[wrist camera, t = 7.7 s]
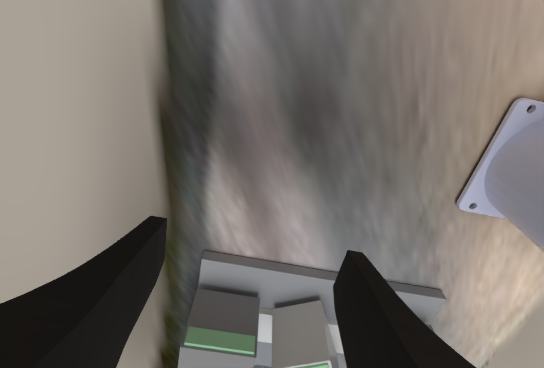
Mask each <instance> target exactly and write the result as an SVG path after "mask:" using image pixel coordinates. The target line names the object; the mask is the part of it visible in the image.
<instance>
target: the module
mask: <svg viewBox="0 0 544 368" xmlns="http://www.w3.org/2000/svg"><path fill="white" fill-rule="evenodd" d="M272 368H339V364H338V358H337V353H336V350H335V346H334V343H333V340H332V336H331V333H330V329H329V326H328V323H327V319H326V316H325V313H324V309H323V306H322V303H321V300H319V301H314V302H308V303H303V304H298V305H292V306H287V307H282V308H276V309H272Z"/></svg>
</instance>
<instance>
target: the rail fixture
mask: <svg viewBox="0 0 544 368" xmlns="http://www.w3.org/2000/svg"><path fill="white" fill-rule="evenodd" d="M337 275H338V273H336V272H330V271H324V270H318V269H312V268H306V267H300V266H294V265H289V264H283V263H277V262H271V261H265V260H259V259H253V258H247V257H241V256H235V255H229V254H223V253H217V252H211V251H205V250H204V254H203V257H202V262H201V269H200V276H199V284H198V288H197V290H196V294H195V297H194V301H193V304H192V308H191V311H190V315H189V318H188V322H187V325H186V329H185V332H184V336H183V339H182V343H181V346H180V354H179V363H178V368H254V365H255V364H256V365H263V366H270V367H272V309H276V308H282V307H287V306H292V305H298V304H303V303H308V302H314V301H319V300H321V303H322V306H323V309H324V313H325V316H326V319H327V323H328V326H329V329H330V333H331V336H332V340H333V343H334V346H335V350H336V353H337V358H338V364H339V368H347V366H346V361H345V357H344V352H343V347H342V343H341V338H340V334H339V329H338V324H337V319H336V314H335V308H334V296H333V285H334V283H335V280H336V278H337ZM386 282H387V283H388V284H389V285H390V286H391V288H392V289H393V290H394V291H395V292H396V294H397V295H398V296H399V297H400V298H401V299H402V300H403V301H404V303H405V304H406V305H407V306H408V307H409V308H410V309H411V310H412V311H413V312H414V313H415V314H416V315H417V316H418V317H419V318H420V319H421V320H422V321H423V322H424V323H425V324H426V325H427V326H428V327H429V328H430V329H431V330H432V331H433V329H432V327H431V325H430V324H431V322H432V321H433V319H434V318H435V316H436V315H437V313H438V312H439V310H440V309H441V307H442V306H443V304H444V303H445V301H446V300H447V299H446V298H445V296H444V294H443V293H442V291H441V290H438V289H432V288H426V287H420V286H414V285H408V284H402V283H396V282H390V281H386ZM433 332H434V331H433Z"/></svg>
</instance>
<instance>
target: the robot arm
mask: <svg viewBox="0 0 544 368" xmlns="http://www.w3.org/2000/svg"><path fill="white" fill-rule="evenodd" d="M530 105H532V106H531V109H530V110H529V111H527V108H528V107H529V106H530ZM472 203H474V204H473V205H472V206H470V204H472ZM456 204H457V206H458V208H459V209H460V210H463V211H468V212H473V213H478V214H483V215H489V216H494V217H499V218H504V219H508V220H509V221H510V222H511V223H512V224H513V225H515V226H516V227H517V228H518V229H519V230H520V231H521V232H522V233H523V234H524V235H526V236H527V237H528V238H529V239H530V240H531V241H532V242H533V243H534V244H535V245H537V246H538V247H539V248H540V249H541V250H542V251H543V252H544V102H542V101H537V100H533V99H528V98H519V99H517V100H516V101H514V103H513V104H512V106H511V107H510V109H509V111H508V113H507V114H506V116H505V118H504V120H503V121H502V123H501V125H500V127H499V128H498V130H497V132H496V134H495V135H494V137H493V139H492V141H491V143H490V144H489V146H488V148H487V150H486V151H485V153H484V155H483V157H482V158H481V160H480V162H479V164H478V165H477V167H476V169H475V171H474V172H473V174H472V176H471V178H470V180H469V181H468V183H467V185H466V187H465V188H464V190H463V192H462V194H461V195H460V197H459V199H458V201H457V203H456ZM166 229H167V218H161V217H156V216H150V217H148V218H147V219H146V220H144V221H143V222H142V223H141V224H139V225H138V226H137V227H136V228H134V229H133V230H132V231H130V232H129V233H128V234H126V235H125V236H124V237H123V238H121V239H120V240H118V241H117V242H116V243H114V244H113V245H112V246H110V247H109V248H108V249H106V250H104V251H103V252H101V253H100V254H98V255H97V256H95V257H94V258H92V259H91V260H89V261H87V262H86V263H84V264H83V265H81V266H79V267H77V268H76V269H74V270H72V271H70V272H68V273H67V274H65V275H63V276H61V277H59V278H57V279H55V280H53V281H51V282H49V283H47V284H45V285H42V286H40V287H38V288H36V289H34V290H32V291H30V292H28V293H25V294H23V295H21V296H18V297H16V298H13V299H11V300H9V301H6V302H4V303H1V304H0V368H116V366H117V364H118V361H119V359H120V356H121V354H122V351H123V349H124V346H125V344H126V342H127V340H128V337H129V335H130V333H131V331H132V329H133V327H134V325H135V323H136V322H137V320H138V318H139V316H140V314H141V312H142V310H143V308H144V306H145V304H146V302H147V300H148V298H149V295H150V294H151V292H152V290H153V288H154V286H155V284H156V281H157V279H158V276H159V273H160V271H161V268H162V265H163V262H164V259H165V244H166ZM333 296H334V308H335V314H336V319H337V324H338V329H339V334H340V338H341V343H342V347H343V352H344V357H345V361H346V366H347V368H476V367H475V366H473V365H472V364H471V363H469V362H468V361H467V360H466V359H464V358H463V357H462V356H461V355H460V354H458V353H457V352H456V351H455V350H454V349H452V348H451V347H450V346H449V345H448V344H446V343H445V342H444V341H443V340H442V339H441V338H440V337H438V336H437V335H436V334H435V333H434V332H433V331H432V330H431V329H430V328H429V327H428V326H427V325H426V324H425V323H424V322H423V321H422V320H421V319H420V318H419V317H418V316H417V315H416V314H415V313H414V312H413V311H412V310H411V309H410V308H409V307H408V306H407V305H406V304H405V303H404V301H403V300H402V299H401V298H400V297H399V296H398V295H397V294H396V292H395V291H394V290H393V289H392V288H391V286H390V285H389V284H388V283H387V282H386V280H385V279H384V278H383V277H382V276H381V274H380V273H379V272H378V271H377V269H376V268H375V267H374V266H373V265H372V263H371V262H370V261H369V260H368V258H367V257H366V256H365V255H364V254H363V253H362V252H356V251H350V250H348V251H347V253H346V256H345V258H344V261H343V263H342V266H341V268H340V270H339V273H338V275H337V278H336V280H335V283H334V285H333Z"/></svg>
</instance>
